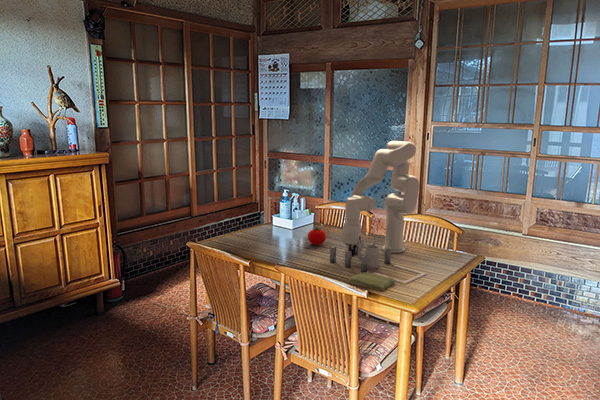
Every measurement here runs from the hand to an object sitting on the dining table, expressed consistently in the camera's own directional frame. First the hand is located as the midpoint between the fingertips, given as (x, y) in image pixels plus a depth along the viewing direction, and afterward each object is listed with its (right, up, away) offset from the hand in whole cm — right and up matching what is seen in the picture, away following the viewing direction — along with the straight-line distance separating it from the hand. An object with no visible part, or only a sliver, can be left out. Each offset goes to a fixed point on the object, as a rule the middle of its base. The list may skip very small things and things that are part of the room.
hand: (351, 256), depth 238 cm
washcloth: (+6, -9, -31) cm, 33 cm away
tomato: (-17, +3, +27) cm, 32 cm away
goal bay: (+20, -6, -20) cm, 29 cm away
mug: (+7, -4, -7) cm, 11 cm away
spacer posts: (+4, -3, -4) cm, 6 cm away
